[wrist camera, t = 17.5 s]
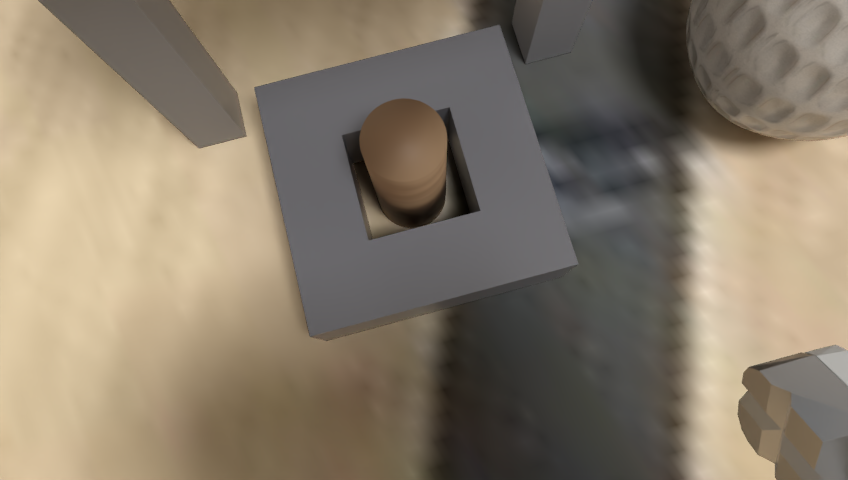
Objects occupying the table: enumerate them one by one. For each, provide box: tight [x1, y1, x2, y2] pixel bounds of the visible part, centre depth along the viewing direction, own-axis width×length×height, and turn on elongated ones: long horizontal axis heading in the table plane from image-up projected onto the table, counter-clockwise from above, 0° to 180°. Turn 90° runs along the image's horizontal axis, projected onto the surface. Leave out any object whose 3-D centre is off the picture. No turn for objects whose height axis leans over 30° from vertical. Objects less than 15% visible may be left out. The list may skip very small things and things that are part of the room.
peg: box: [359, 98, 447, 228], centre depth 31 cm, size 4×4×9 cm
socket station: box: [38, 0, 593, 341], centre depth 22 cm, size 16×24×30 cm
